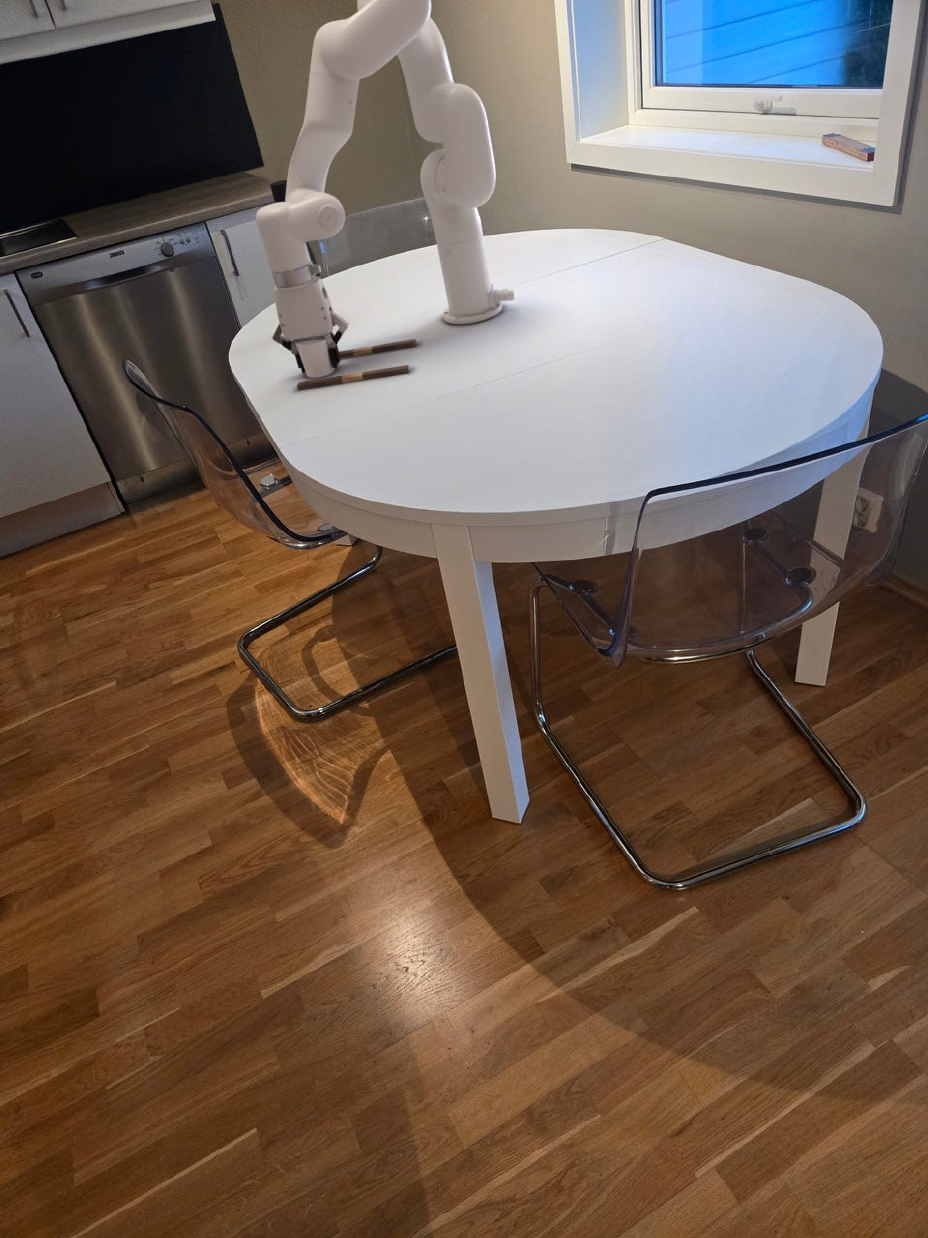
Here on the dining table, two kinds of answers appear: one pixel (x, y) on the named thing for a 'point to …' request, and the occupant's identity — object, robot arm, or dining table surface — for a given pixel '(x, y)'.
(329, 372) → the white cup
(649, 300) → the dining table surface
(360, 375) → the guide rails
